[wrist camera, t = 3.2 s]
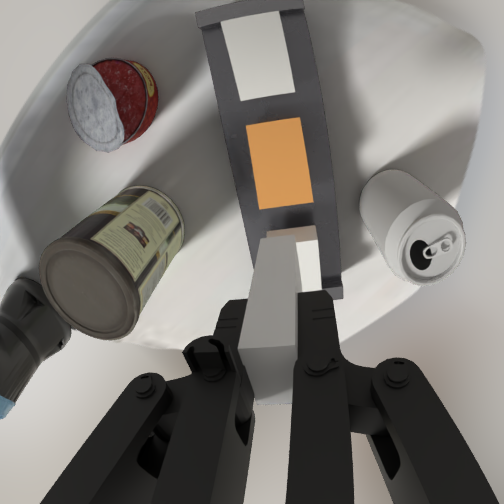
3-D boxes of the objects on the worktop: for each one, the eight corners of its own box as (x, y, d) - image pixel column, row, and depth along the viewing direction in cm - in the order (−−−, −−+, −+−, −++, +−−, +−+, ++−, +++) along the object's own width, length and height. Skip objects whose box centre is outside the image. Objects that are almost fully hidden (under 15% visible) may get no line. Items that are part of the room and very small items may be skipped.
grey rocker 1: (319, 276, 32) (321, 292, 30) (278, 281, 33) (278, 297, 31) (315, 224, 27) (317, 239, 26) (266, 230, 28) (266, 246, 26)
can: (345, 188, 31) (375, 237, 20) (404, 155, 28) (460, 189, 18) (374, 243, 33) (407, 308, 23) (428, 213, 31) (480, 266, 20)
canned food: (166, 123, 34) (141, 179, 28) (93, 121, 33) (58, 174, 27) (165, 37, 24) (128, 75, 19) (81, 43, 23) (29, 84, 18)
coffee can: (103, 245, 37) (41, 310, 25) (117, 173, 32) (37, 221, 20) (173, 276, 38) (129, 357, 26) (197, 204, 33) (147, 273, 21)
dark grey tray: (337, 275, 36) (343, 298, 31) (262, 283, 37) (259, 308, 33) (298, 7, 22) (300, -8, 18) (207, 23, 24) (195, 12, 20)
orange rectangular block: (312, 200, 26) (313, 202, 24) (262, 207, 27) (259, 209, 25) (299, 122, 25) (299, 117, 23) (249, 129, 25) (245, 125, 23)
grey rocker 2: (293, 86, 23) (295, 92, 22) (242, 95, 24) (240, 101, 22) (277, 12, 19) (278, 10, 17) (224, 21, 19) (220, 21, 18)
